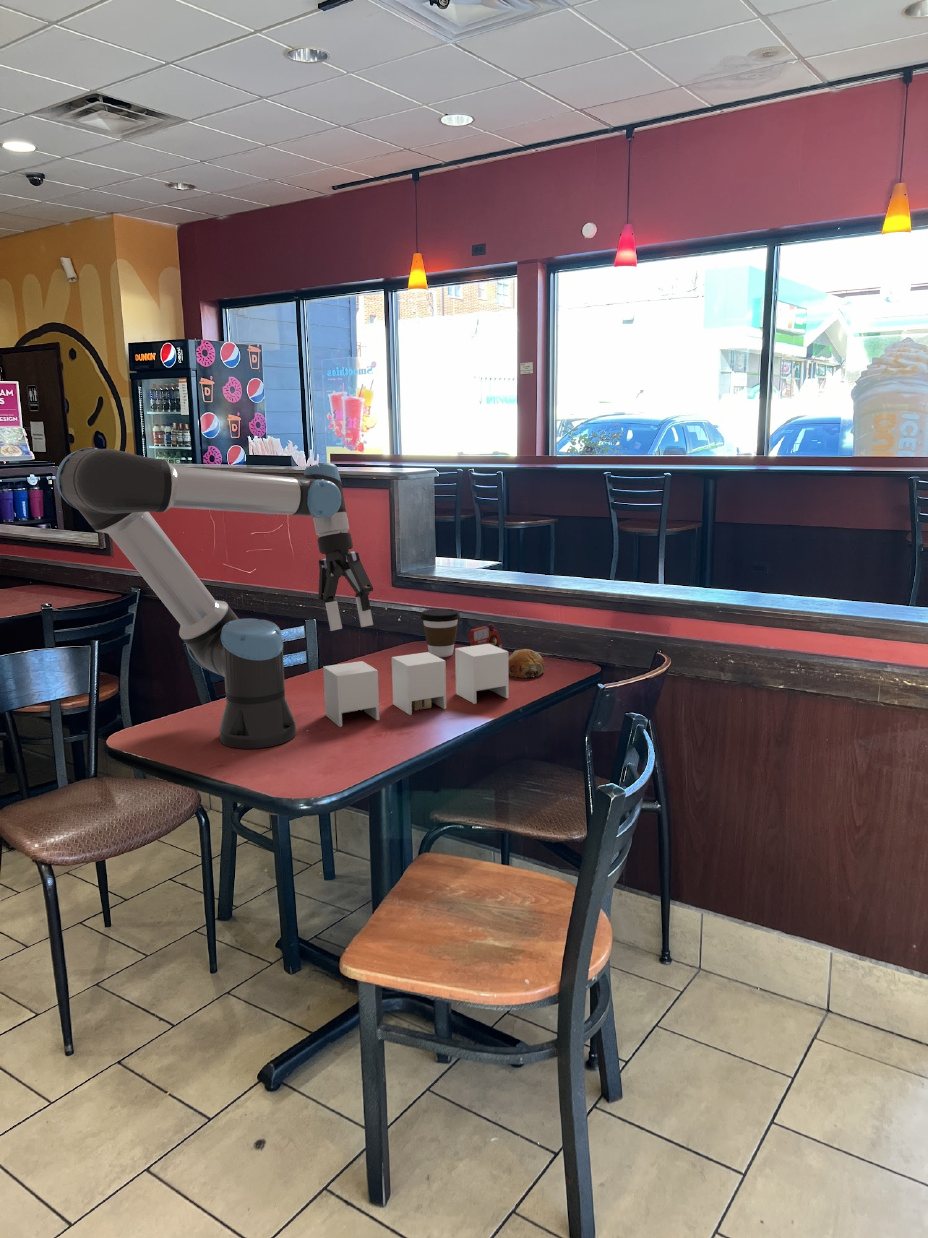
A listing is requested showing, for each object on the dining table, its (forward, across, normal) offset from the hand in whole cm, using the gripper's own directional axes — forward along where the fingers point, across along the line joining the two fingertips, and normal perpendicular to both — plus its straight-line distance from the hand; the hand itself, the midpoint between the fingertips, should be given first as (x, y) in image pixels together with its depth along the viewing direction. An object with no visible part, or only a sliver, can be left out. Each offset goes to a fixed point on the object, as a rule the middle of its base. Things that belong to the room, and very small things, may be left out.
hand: (351, 628), depth 198 cm
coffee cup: (+14, +26, -42) cm, 51 cm away
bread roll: (+21, -3, -46) cm, 50 cm away
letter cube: (+20, -8, -9) cm, 23 cm away
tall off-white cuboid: (+20, -8, -9) cm, 23 cm away
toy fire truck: (+18, +11, -44) cm, 49 cm away
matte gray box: (+21, -11, -25) cm, 34 cm away
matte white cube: (+19, -5, +7) cm, 20 cm away
